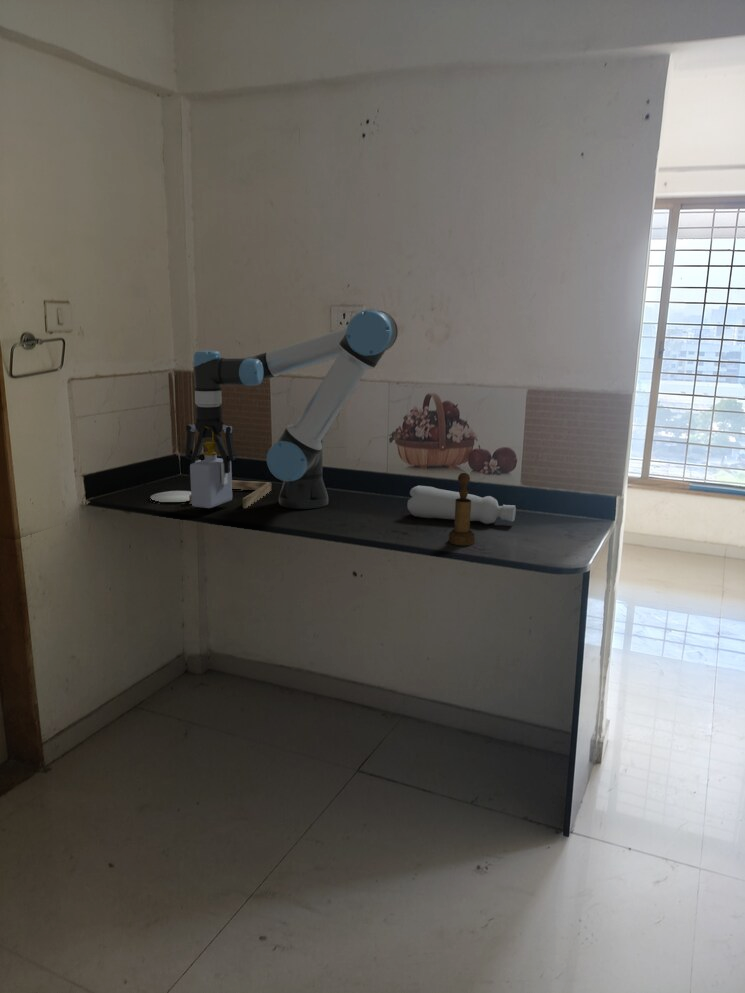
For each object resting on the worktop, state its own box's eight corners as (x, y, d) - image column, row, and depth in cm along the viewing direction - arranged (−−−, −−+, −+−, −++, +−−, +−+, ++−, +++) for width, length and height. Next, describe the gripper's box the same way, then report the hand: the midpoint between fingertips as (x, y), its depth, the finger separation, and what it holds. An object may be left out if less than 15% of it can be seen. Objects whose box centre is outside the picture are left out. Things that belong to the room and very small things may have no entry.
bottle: (404, 509, 216) (509, 523, 206) (411, 479, 219) (515, 492, 209) (411, 520, 224) (513, 534, 214) (418, 491, 227) (518, 504, 217)
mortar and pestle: (476, 545, 193) (479, 475, 189) (451, 546, 193) (453, 476, 189) (471, 538, 200) (474, 470, 196) (446, 538, 199) (449, 470, 195)
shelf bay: (271, 491, 251) (271, 482, 251) (246, 508, 228) (245, 498, 228) (220, 488, 255) (219, 479, 254) (189, 504, 232) (189, 495, 231)
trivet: (207, 494, 246) (207, 492, 246) (187, 505, 231) (187, 502, 231) (163, 492, 249) (163, 489, 248) (141, 502, 234) (141, 500, 234)
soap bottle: (214, 498, 233) (211, 421, 227) (233, 500, 230) (230, 423, 225) (190, 506, 222) (187, 426, 216) (210, 509, 219) (206, 428, 214)
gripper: (246, 405, 221) (248, 482, 226) (181, 403, 225) (184, 479, 230) (237, 407, 214) (239, 487, 219) (170, 405, 218) (173, 484, 223)
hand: (211, 483), depth 225 cm, fingers closed on soap bottle, 7 cm apart
